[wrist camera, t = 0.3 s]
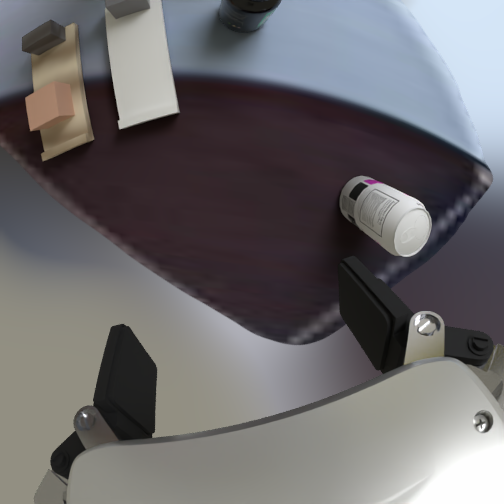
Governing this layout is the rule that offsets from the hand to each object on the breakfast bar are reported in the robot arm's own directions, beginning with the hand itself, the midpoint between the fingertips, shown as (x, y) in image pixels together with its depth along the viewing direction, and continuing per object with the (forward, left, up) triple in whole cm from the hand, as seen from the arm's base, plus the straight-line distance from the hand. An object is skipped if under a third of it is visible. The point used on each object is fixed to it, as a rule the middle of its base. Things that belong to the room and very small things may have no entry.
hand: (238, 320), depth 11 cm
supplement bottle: (-24, +9, -31) cm, 40 cm away
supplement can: (+8, +24, -31) cm, 40 cm away
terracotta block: (-17, -19, -29) cm, 38 cm away
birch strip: (-20, -19, -31) cm, 41 cm away
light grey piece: (-20, -6, -31) cm, 37 cm away
